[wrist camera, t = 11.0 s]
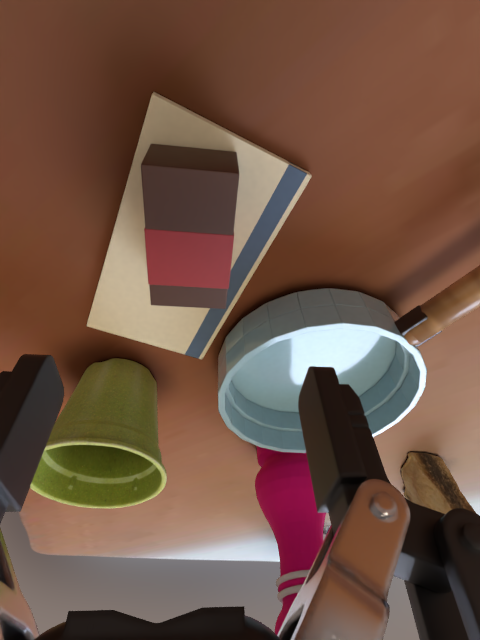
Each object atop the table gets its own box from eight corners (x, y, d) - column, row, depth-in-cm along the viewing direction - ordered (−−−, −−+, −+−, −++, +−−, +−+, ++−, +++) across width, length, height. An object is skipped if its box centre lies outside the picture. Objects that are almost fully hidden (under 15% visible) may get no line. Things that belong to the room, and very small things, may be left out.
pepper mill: (318, 457, 41) (375, 715, 26) (255, 463, 42) (276, 723, 27) (319, 421, 37) (389, 712, 22) (248, 429, 37) (269, 721, 22)
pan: (274, 252, 24) (283, 291, 20) (446, 324, 28) (474, 364, 25) (190, 390, 32) (187, 431, 29) (331, 426, 37) (342, 465, 34)
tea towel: (153, 91, 17) (151, 93, 17) (310, 172, 20) (312, 176, 20) (88, 320, 27) (86, 326, 26) (202, 354, 29) (202, 359, 29)
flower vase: (354, 550, 64) (412, 779, 45) (251, 551, 62) (266, 792, 43) (382, 521, 55) (468, 788, 36) (264, 521, 53) (290, 805, 34)
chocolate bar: (149, 142, 18) (139, 164, 16) (237, 151, 19) (240, 173, 16) (156, 274, 24) (149, 305, 21) (225, 278, 24) (226, 309, 22)
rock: (438, 514, 48) (502, 493, 41) (424, 575, 42) (496, 562, 35) (372, 457, 50) (422, 427, 43) (350, 507, 45) (403, 482, 38)
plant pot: (75, 326, 27) (30, 429, 20) (193, 362, 30) (186, 461, 24) (53, 397, 32) (12, 497, 26) (155, 421, 35) (141, 516, 29)
